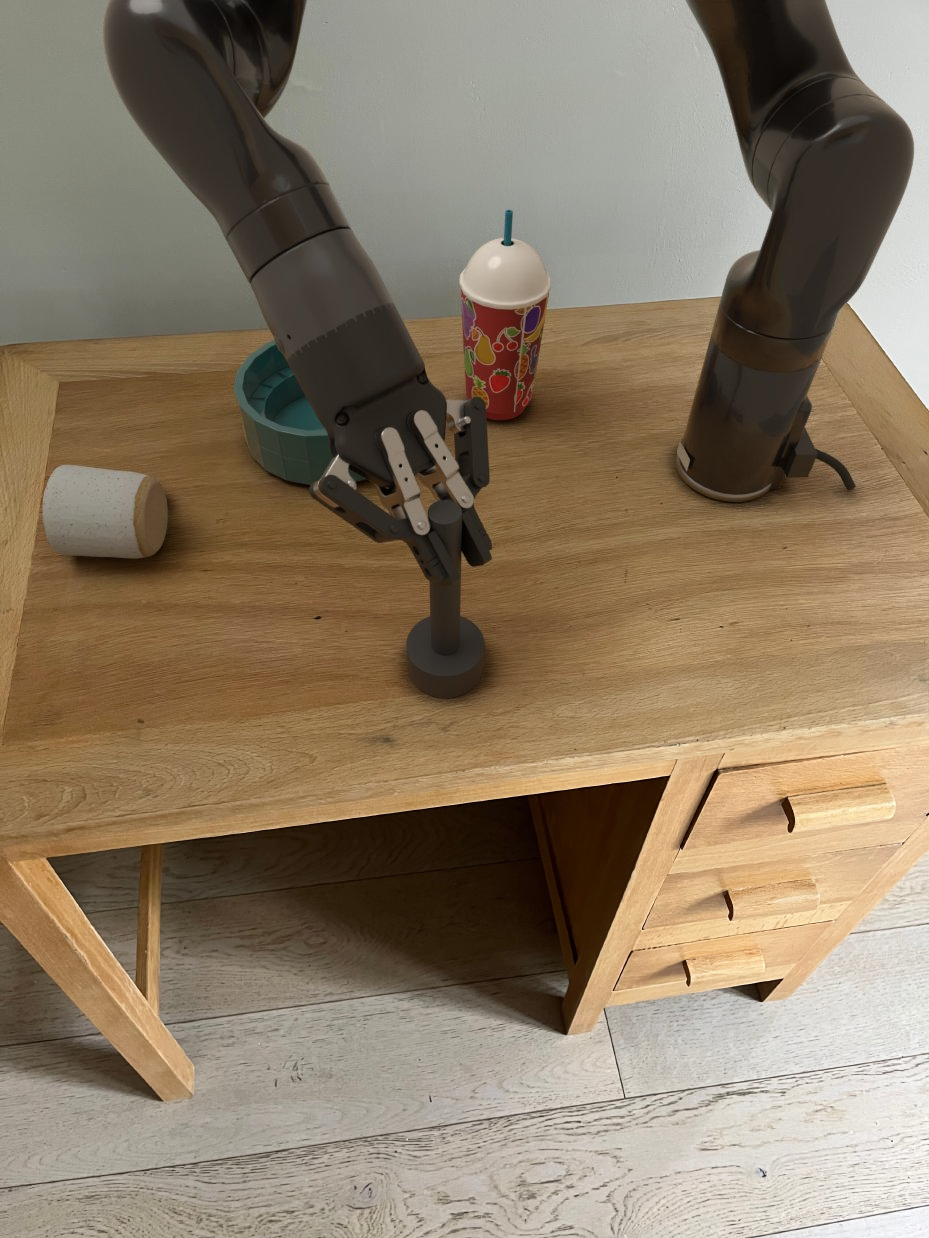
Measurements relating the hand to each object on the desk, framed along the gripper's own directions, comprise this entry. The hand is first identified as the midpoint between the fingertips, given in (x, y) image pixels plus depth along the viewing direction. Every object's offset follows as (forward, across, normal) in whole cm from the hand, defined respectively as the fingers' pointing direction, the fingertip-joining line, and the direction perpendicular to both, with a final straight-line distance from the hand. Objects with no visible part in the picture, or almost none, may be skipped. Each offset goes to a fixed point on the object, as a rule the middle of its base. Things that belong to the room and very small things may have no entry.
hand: (466, 572), depth 57 cm
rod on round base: (+8, 0, +11) cm, 13 cm away
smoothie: (-8, +26, +26) cm, 37 cm away
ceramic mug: (-13, -12, +32) cm, 37 cm away
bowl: (-13, +10, +31) cm, 35 cm away
